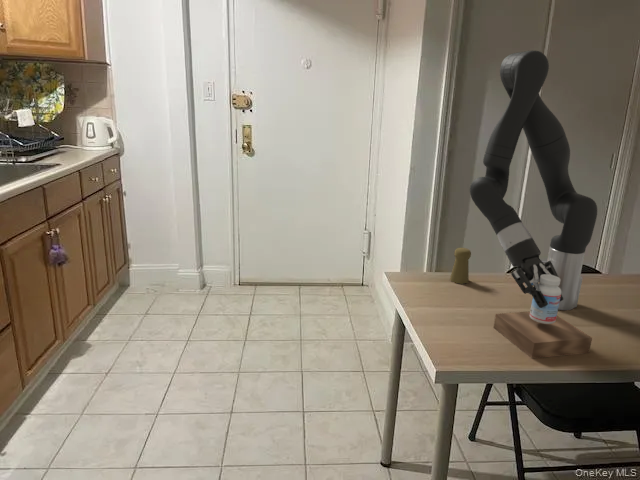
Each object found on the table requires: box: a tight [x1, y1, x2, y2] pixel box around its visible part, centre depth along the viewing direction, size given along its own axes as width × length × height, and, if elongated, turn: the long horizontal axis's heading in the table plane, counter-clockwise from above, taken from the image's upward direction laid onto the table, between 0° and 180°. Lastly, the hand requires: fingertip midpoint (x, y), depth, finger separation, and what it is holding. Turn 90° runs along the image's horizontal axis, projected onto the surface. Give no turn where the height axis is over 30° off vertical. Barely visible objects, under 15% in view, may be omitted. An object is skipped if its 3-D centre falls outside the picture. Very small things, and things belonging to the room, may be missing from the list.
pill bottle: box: [529, 274, 561, 324], centre depth 126 cm, size 6×6×11 cm
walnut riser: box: [493, 311, 593, 359], centre depth 128 cm, size 16×16×4 cm
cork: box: [449, 247, 472, 285], centre depth 165 cm, size 6×6×11 cm
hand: (552, 303), depth 124 cm, fingers closed on pill bottle, 6 cm apart
